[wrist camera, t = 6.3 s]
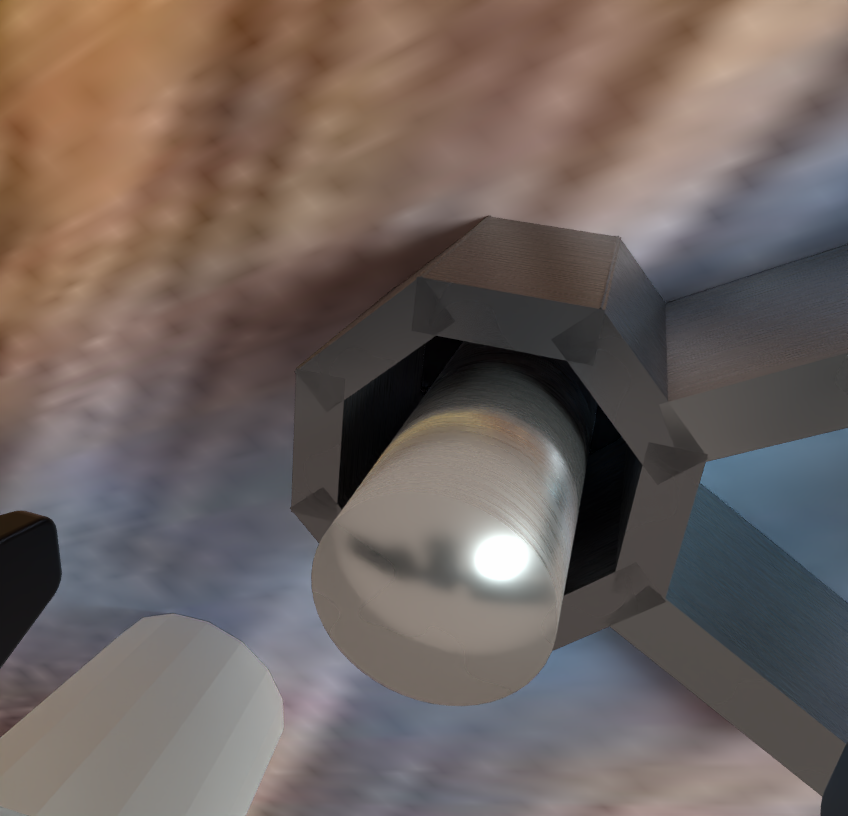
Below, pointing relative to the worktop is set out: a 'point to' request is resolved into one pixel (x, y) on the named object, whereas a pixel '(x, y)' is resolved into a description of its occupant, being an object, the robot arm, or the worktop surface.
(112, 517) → the worktop surface
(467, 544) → the hinge pin
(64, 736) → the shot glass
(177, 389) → the worktop surface
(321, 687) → the worktop surface
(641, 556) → the grey ring with handle
